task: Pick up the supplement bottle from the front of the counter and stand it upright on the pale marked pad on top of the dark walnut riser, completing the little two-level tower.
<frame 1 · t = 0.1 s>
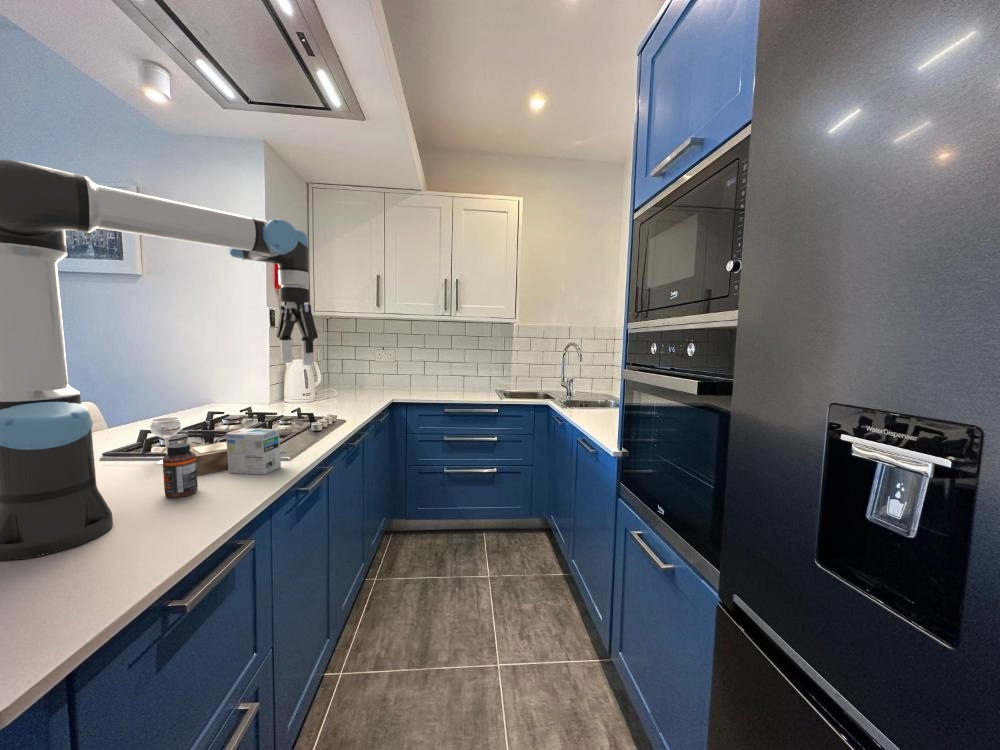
hand: (297, 363, 115), 28 cm above the counter, tool pointing down, fingers open, 13 cm apart
wineglass: (168, 461, 116), on the counter
supplement bottle: (181, 494, 92), on the counter
light bulb box: (255, 470, 109), on the counter
walnut riser: (214, 466, 111), on the counter
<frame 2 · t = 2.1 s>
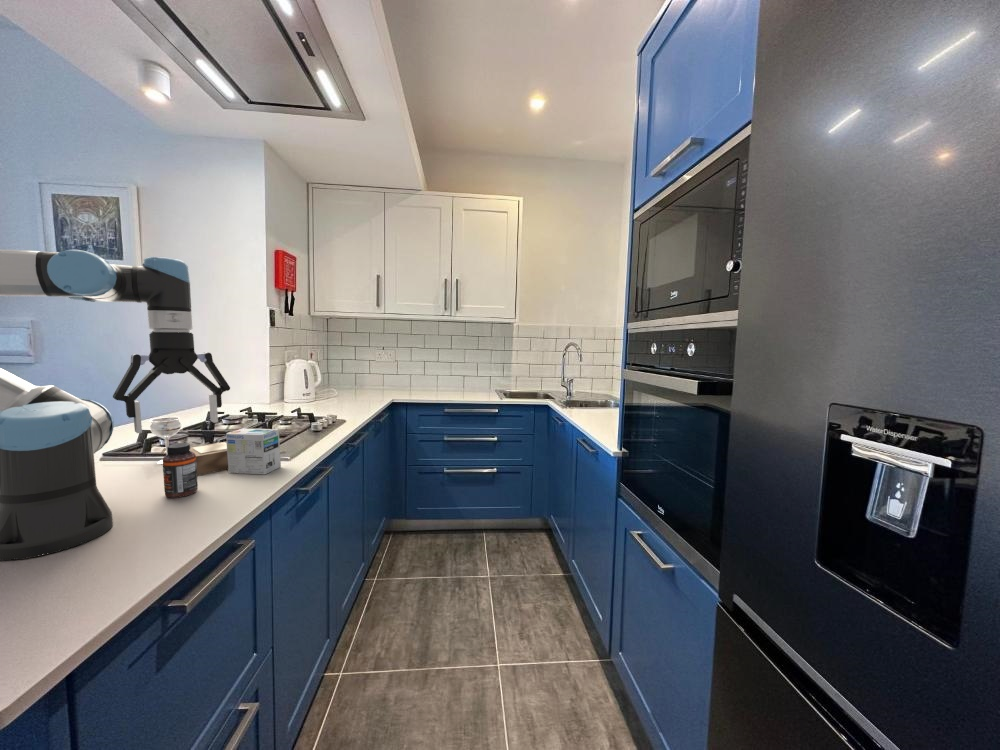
hand: (178, 426, 91), 15 cm above the counter, tool pointing down, fingers open, 13 cm apart
nothing on the counter moved.
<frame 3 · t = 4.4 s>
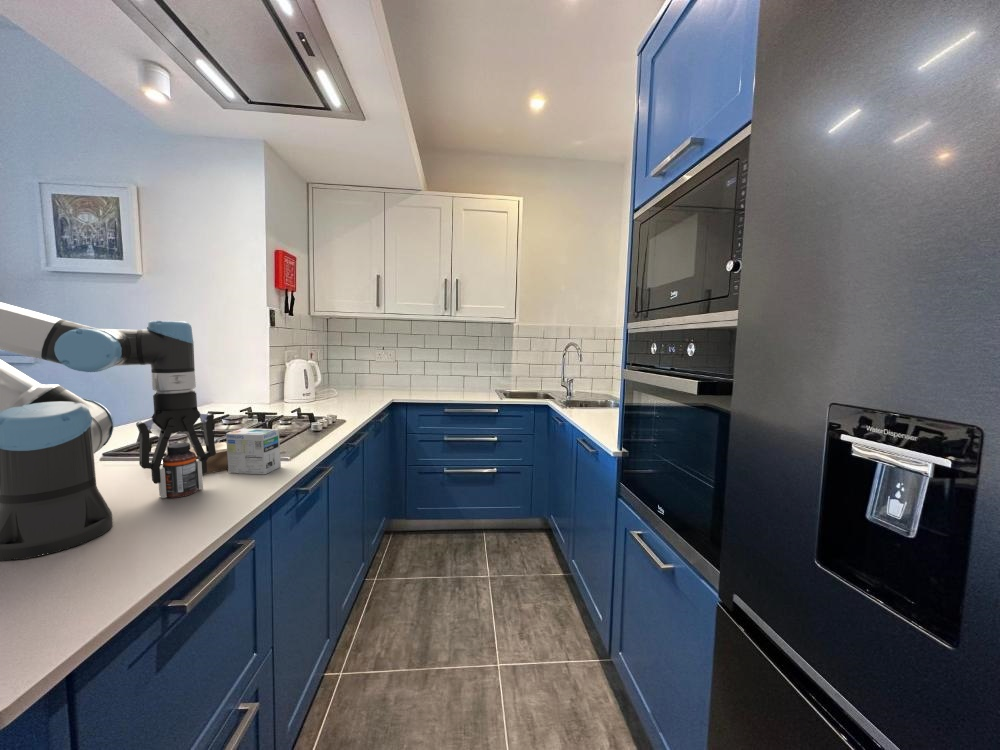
hand: (181, 491, 92), 0 cm above the counter, tool pointing down, fingers closed on supplement bottle, 6 cm apart
supplement bottle: (181, 494, 92), on the counter, touching gripper
everything else where it was.
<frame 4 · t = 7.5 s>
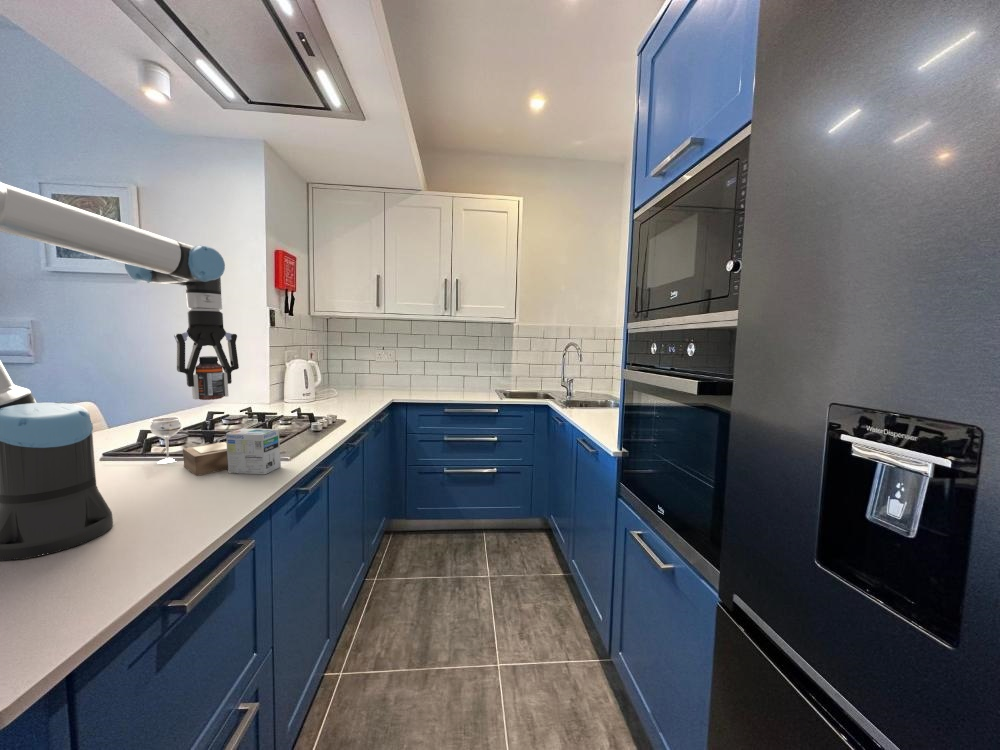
hand: (210, 397, 109), 19 cm above the counter, tool pointing down, fingers closed on supplement bottle, 6 cm apart
supplement bottle: (211, 399, 109), point 19 cm above the counter, touching gripper
everything else where it was.
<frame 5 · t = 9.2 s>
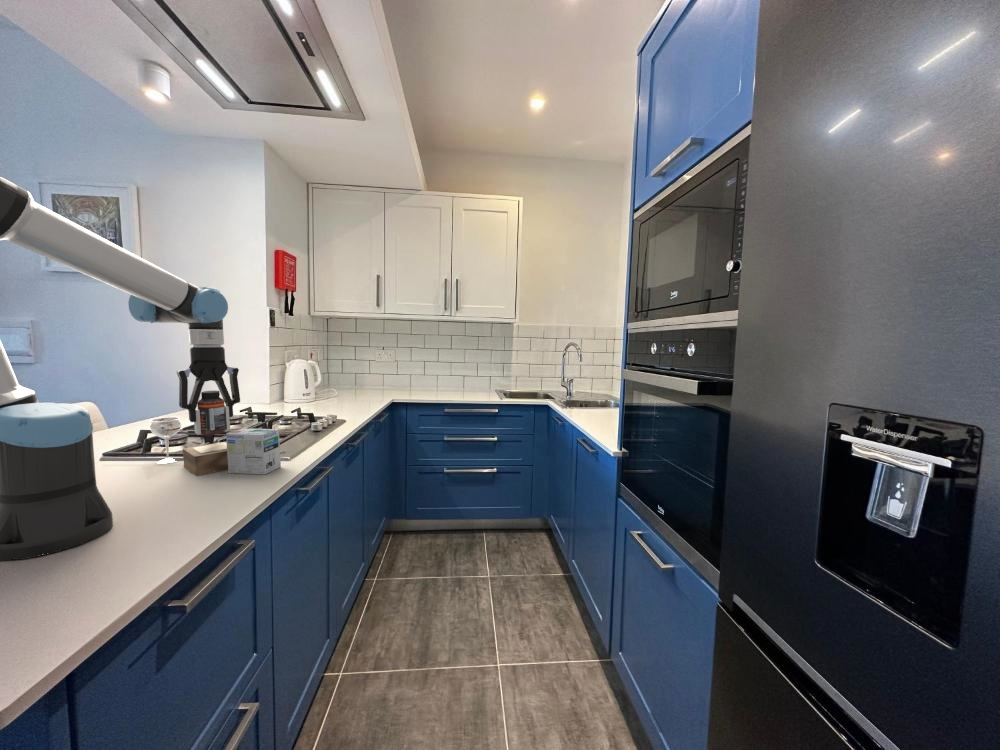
hand: (212, 431, 111), 10 cm above the counter, tool pointing down, fingers closed on supplement bottle, 6 cm apart
supplement bottle: (212, 433, 111), point 9 cm above the counter, touching gripper
everything else where it was.
when the fingers open (7 cm above the counter, at t = 10.5 s): supplement bottle drops 1 cm, resting on walnut riser.
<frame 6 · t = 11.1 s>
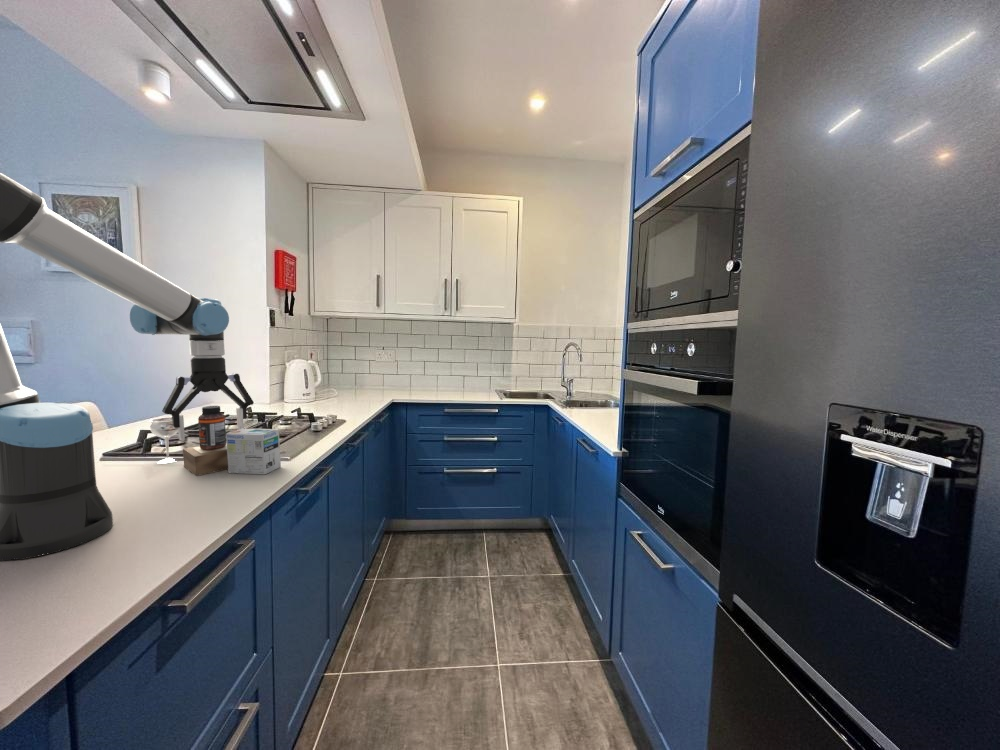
hand: (212, 435, 111), 9 cm above the counter, tool pointing down, fingers open, 13 cm apart
supplement bottle: (213, 448, 111), point 5 cm above the counter, touching walnut riser
everything else where it was.
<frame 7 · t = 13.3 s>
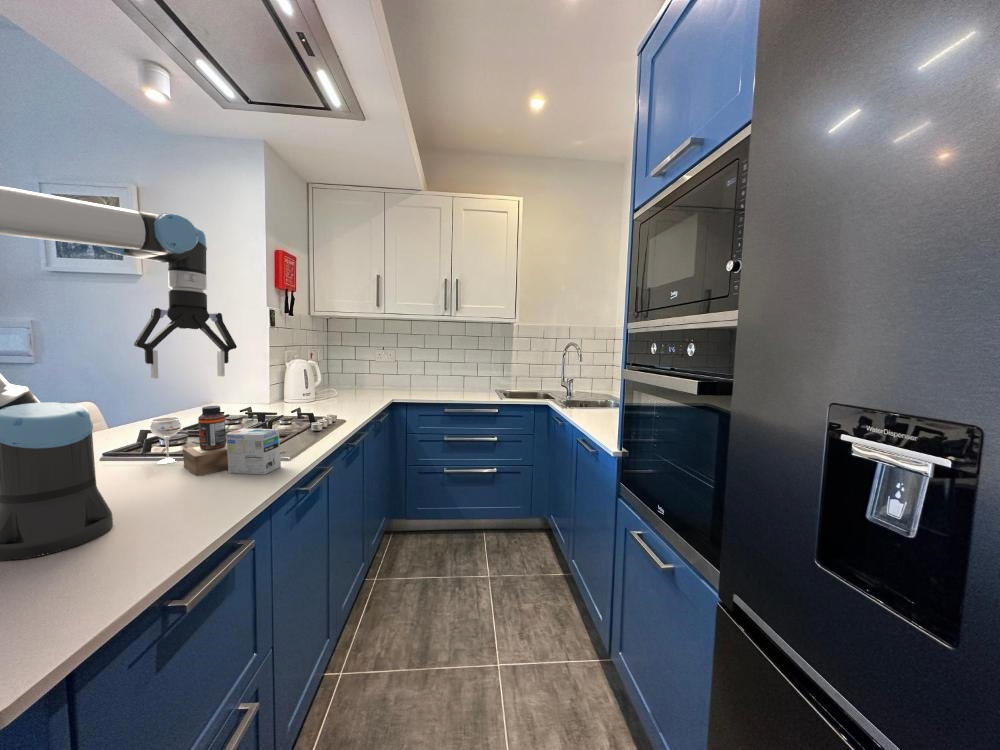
hand: (189, 377, 101), 25 cm above the counter, tool pointing down, fingers open, 13 cm apart
nothing on the counter moved.
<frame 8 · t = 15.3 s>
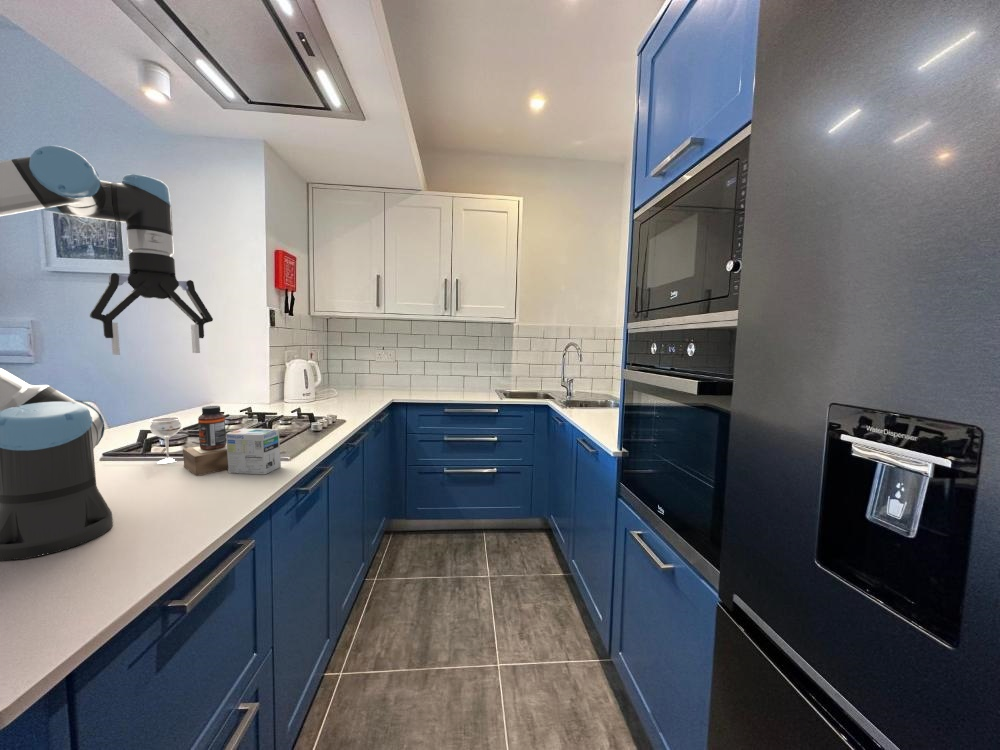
hand: (158, 353, 89), 32 cm above the counter, tool pointing down, fingers open, 13 cm apart
nothing on the counter moved.
at the end: supplement bottle 0.1 cm off-centre on the walnut riser, point 5.0 cm above the walnut riser's base; supplement bottle tilted 0°; the gripper is holding nothing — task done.
